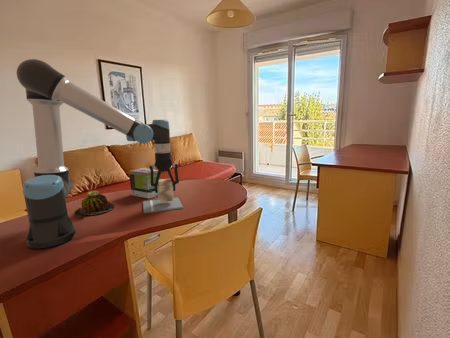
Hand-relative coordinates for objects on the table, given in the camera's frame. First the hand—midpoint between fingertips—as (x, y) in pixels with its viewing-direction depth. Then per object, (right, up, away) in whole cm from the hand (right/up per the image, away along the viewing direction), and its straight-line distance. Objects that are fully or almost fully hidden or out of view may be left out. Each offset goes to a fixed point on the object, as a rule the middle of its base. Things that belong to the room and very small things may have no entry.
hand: (165, 198), depth 121 cm
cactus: (-33, -6, -4) cm, 34 cm away
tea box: (-16, -1, +18) cm, 24 cm away
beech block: (0, -1, 0) cm, 1 cm away
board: (-2, -4, 0) cm, 4 cm away
